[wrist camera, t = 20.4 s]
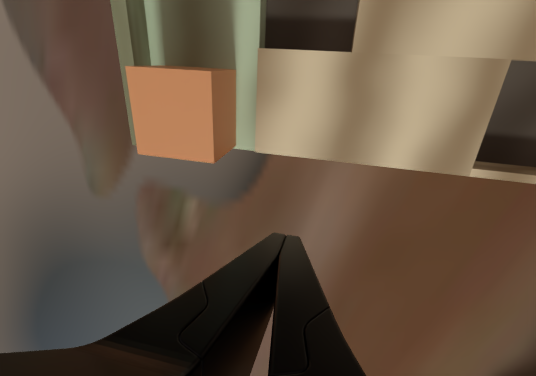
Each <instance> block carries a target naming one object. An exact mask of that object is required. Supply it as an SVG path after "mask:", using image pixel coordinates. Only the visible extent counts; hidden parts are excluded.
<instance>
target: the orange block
mask: <svg viewBox="0 0 536 376" xmlns="http://www.w3.org/2000/svg"><path fill="white" fill-rule="evenodd" d="M125 69H126V76H127V83H128V89H129V96H130V103H131V110H132V117H133V124H134V130H135V137H136V144H137V151H138V154H142V155H150V156H158V157H167V158H175V159H182V160H190V161H198V162H206V163H207V162H208V163H215V162H217V161H218V160H219V159H220V158H221V157H223V156H224V155H225V154H226V153H228V152H229V151H230V150H231V149H233V148H234V147H235V146H236V70H235V69H218V68H201V67H184V66H167V65H158V66H125Z"/></svg>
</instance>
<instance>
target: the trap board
mask: <svg viewBox="0 0 536 376" xmlns="http://www.w3.org/2000/svg"><path fill="white" fill-rule="evenodd" d="M110 2H111V9H112V15H113V22H114V28H115V35H116V41H117V48H118V54H119V61H120V68H121V74H122V81H123V87H124V94H125V100H126V107H127V113H128V120H129V126H130V133H131V140H132V145H137V144H136V137H135V130H134V124H133V117H132V110H131V103H130V96H129V89H128V83H127V76H126V69H125V66H158V65H167V66H184V67H201V68H218V69H235V70H236V146H235V147H234V148H235V149H243V150H252V151H255V152H258V153H267V154H276V155H285V156H294V157H303V158H311V159H320V160H329V161H338V162H347V163H356V164H364V165H373V166H382V167H391V168H400V169H409V170H418V171H426V172H435V173H444V174H453V175H462V176H471V177H479V178H488V179H497V180H506V181H515V182H524V183H533V184H536V0H110Z"/></svg>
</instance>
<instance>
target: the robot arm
mask: <svg viewBox="0 0 536 376" xmlns="http://www.w3.org/2000/svg"><path fill="white" fill-rule="evenodd" d="M273 308H274V313H273V324H272V336H271V347H270V358H269V370H268V376H366V375H365V373H364V371H363V370H362V368H361V366H360V365H359V363H358V361H357V360H356V358H355V356H354V355H353V353H352V351H351V349H350V347H349V346H348V344H347V342H346V340H345V339H344V337H343V335H342V333H341V330H340V328H339V326H338V324H337V322H336V320H335V318H334V315H333V313H332V311H331V309H330V306H329V304H328V302H327V299H326V297H325V295H324V293H323V290H322V288H321V286H320V283H319V281H318V279H317V276H316V274H315V272H314V269H313V267H312V265H311V262H310V260H309V258H308V255H307V253H306V251H305V248H304V246H303V244H302V242H301V239H300V237H298V236H292V235H287V236H286V235H285V234H280V233H272V234H271V235H269V236H268V237H266V238H265V239H263V240H262V241H260V242H259V243H257V244H256V245H255V246H253V247H252V248H250V249H249V250H247V251H246V252H244V253H243V254H241V255H240V256H238V257H237V258H235V259H234V260H232V261H231V262H229V263H228V264H227V265H225V266H224V267H222V268H221V269H219V270H218V271H216V272H215V273H213V274H212V275H210V276H209V277H207V278H206V279H204V280H203V281H202V282H200V283H198V284H197V285H195V286H194V287H192V288H191V289H189V290H188V291H186V292H185V293H183V294H182V295H180V296H178V297H177V298H175V299H174V300H172V301H170V302H168V303H167V304H165V305H164V306H162V307H160V308H158V309H156V310H155V311H153V312H151V313H149V314H147V315H145V316H143V317H142V318H140V319H138V320H136V321H134V322H132V323H131V324H129V325H127V326H125V327H123V328H121V329H120V330H118V331H116V332H114V333H112V334H110V335H108V336H107V337H104V338H102V339H100V340H98V341H96V342H93V343H91V344H87V345H84V346H79V347H74V348H66V349H52V350H39V351H26V352H12V353H0V376H250V373H251V370H252V368H253V365H254V362H255V359H256V356H257V354H258V351H259V348H260V345H261V342H262V339H263V337H264V334H265V331H266V328H267V325H268V322H269V320H270V317H271V314H272V311H273Z"/></svg>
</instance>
